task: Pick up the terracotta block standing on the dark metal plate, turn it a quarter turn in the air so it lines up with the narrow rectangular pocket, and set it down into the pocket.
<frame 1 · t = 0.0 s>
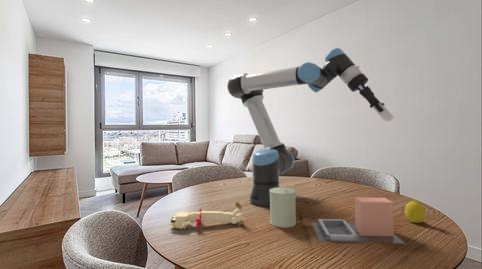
hand: (390, 119, 95), 36 cm above the table, tool tilted 35°, fingers open, 13 cm apart
can: (283, 223, 87), on the table
pocket plate: (353, 234, 76), on the table
terracotta block: (373, 232, 75), point 1 cm above the table, touching pocket plate
lemon: (414, 224, 83), on the table
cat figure: (206, 226, 86), on the table
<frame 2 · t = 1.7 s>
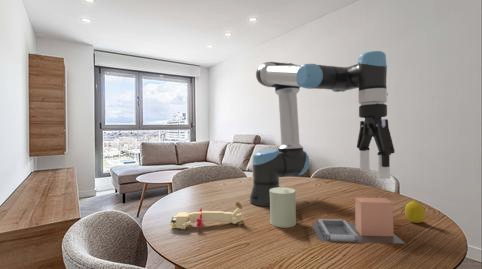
hand: (373, 174, 75), 19 cm above the table, tool pointing down, fingers open, 13 cm apart
nothing on the table moved.
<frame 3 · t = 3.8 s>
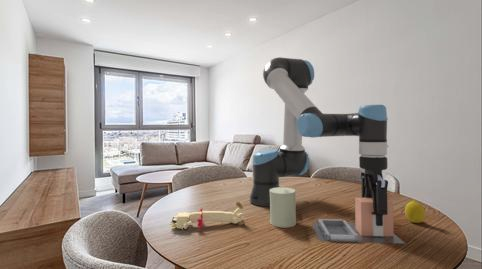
hand: (373, 231, 75), 1 cm above the table, tool pointing down, fingers closed on terracotta block, 5 cm apart
terracotta block: (373, 232, 75), point 1 cm above the table, touching gripper, pocket plate
everything else where it was.
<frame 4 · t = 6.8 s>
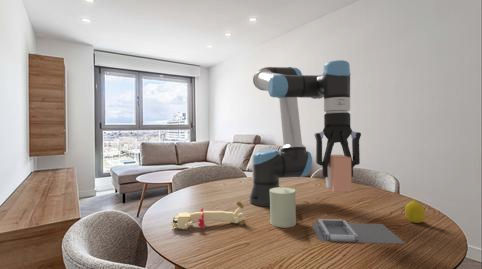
hand: (337, 187, 76), 15 cm above the table, tool pointing down, fingers closed on terracotta block, 5 cm apart
terracotta block: (337, 188, 76), point 14 cm above the table, touching gripper
everything else where it was.
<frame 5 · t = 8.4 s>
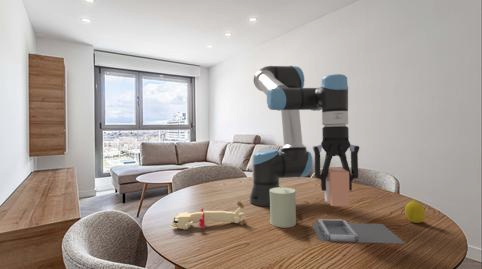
hand: (336, 200, 76), 10 cm above the table, tool pointing down, fingers closed on terracotta block, 5 cm apart
terracotta block: (336, 201, 76), point 10 cm above the table, touching gripper
everything else where it was.
when the fingers open (4 cm above the table, at t = 9.8 s): terracotta block drops 3 cm, resting on pocket plate.
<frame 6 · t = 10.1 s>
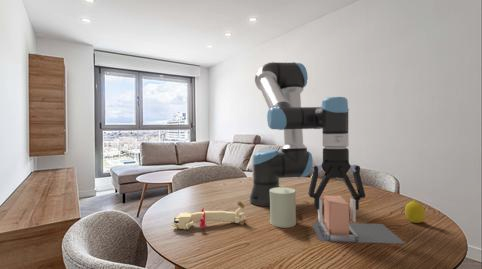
hand: (336, 219, 76), 5 cm above the table, tool pointing down, fingers open, 9 cm apart
terracotta block: (336, 231, 76), point 1 cm above the table, touching pocket plate
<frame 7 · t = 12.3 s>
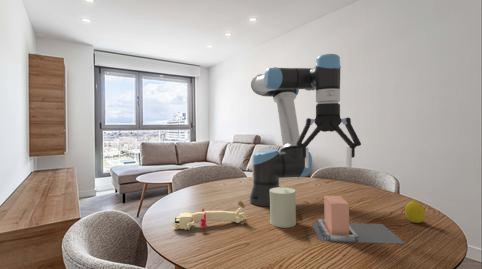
hand: (327, 167, 82), 20 cm above the table, tool pointing down, fingers open, 13 cm apart
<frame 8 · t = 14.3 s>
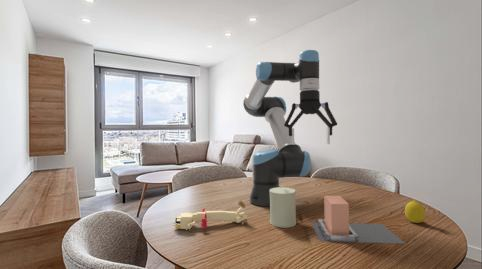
hand: (310, 144, 98), 27 cm above the table, tool pointing down, fingers open, 13 cm apart
at the end: terracotta block 0.1 cm from the target spot on the pocket plate, point 0.8 cm above the pocket plate's base; terracotta block tilted 0°; the gripper is holding nothing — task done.
